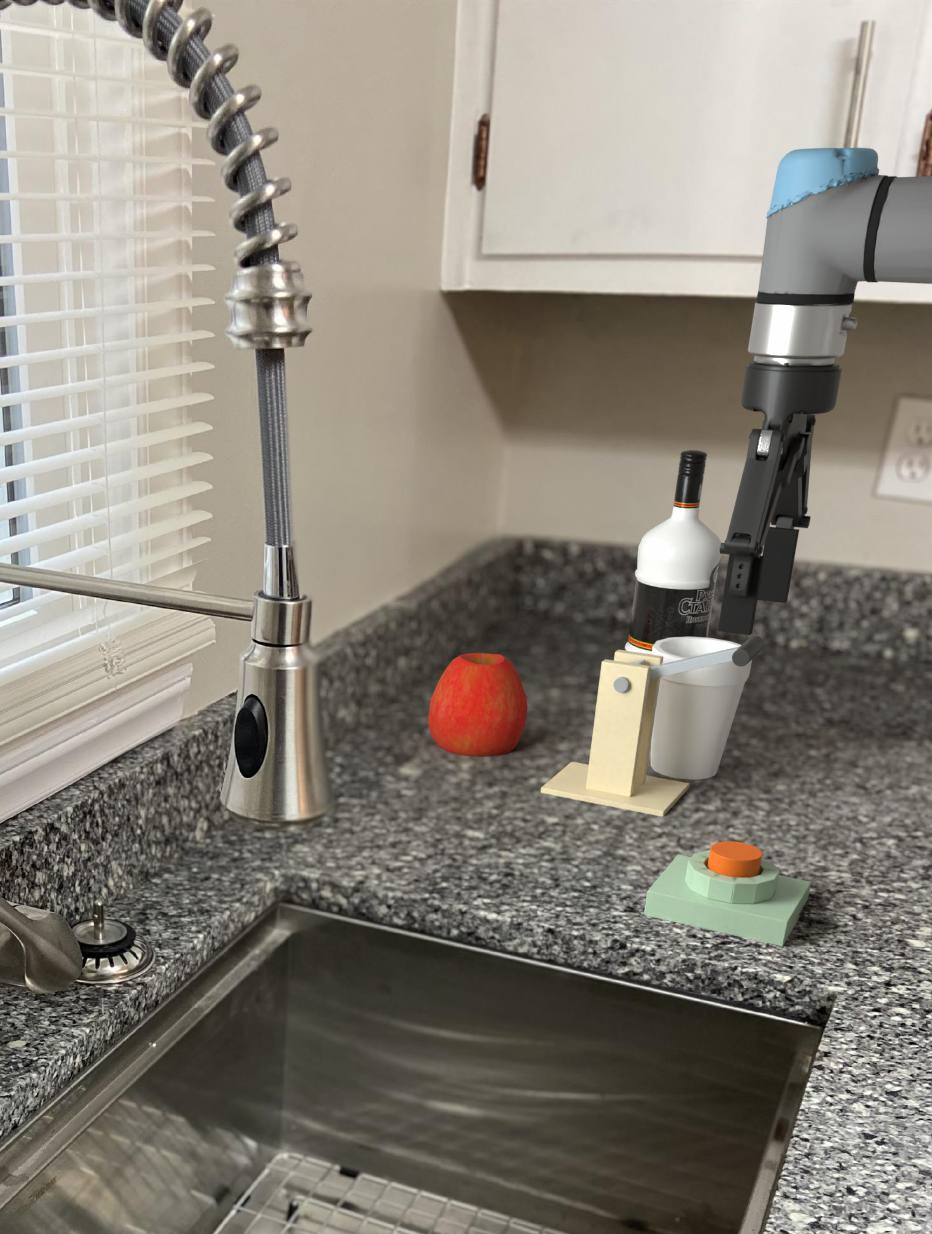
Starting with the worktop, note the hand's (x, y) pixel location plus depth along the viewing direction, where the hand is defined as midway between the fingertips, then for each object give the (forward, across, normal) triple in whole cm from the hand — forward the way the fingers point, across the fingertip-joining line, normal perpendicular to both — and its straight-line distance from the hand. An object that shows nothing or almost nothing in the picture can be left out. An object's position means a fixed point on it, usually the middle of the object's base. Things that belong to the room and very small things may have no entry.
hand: (753, 616), depth 132 cm
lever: (+6, 0, +5) cm, 8 cm away
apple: (+19, +6, +27) cm, 34 cm away
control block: (+19, -21, -6) cm, 29 cm away
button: (+16, -21, -6) cm, 27 cm away
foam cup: (+19, +10, +6) cm, 23 cm away
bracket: (+19, 0, +10) cm, 22 cm away
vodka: (+19, +20, +12) cm, 30 cm away
